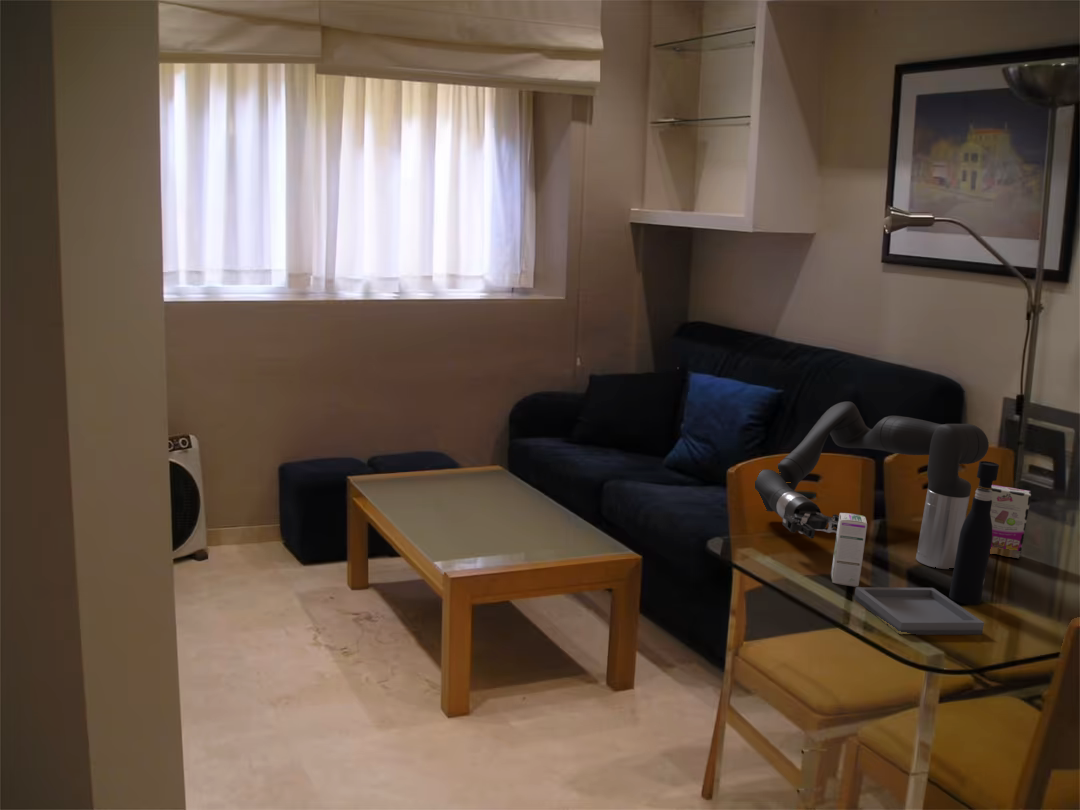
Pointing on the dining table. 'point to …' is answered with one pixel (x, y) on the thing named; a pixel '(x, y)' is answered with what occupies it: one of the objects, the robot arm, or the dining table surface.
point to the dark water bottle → (975, 541)
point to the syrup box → (849, 549)
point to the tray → (919, 611)
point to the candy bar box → (1009, 517)
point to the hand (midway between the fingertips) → (830, 534)
